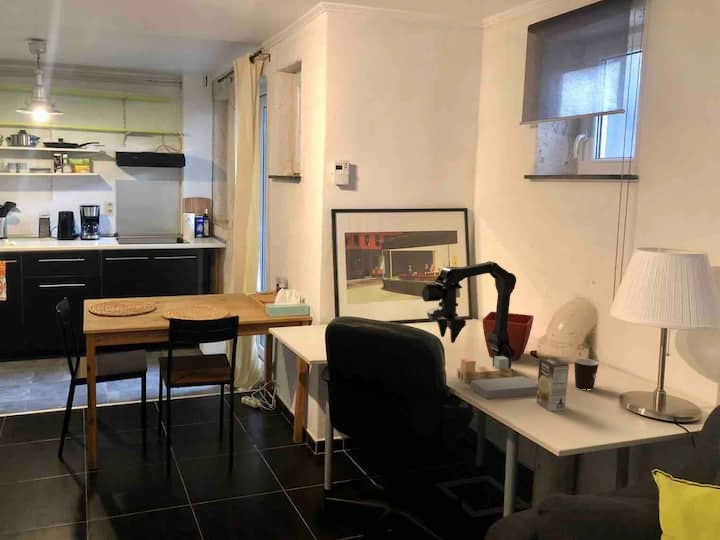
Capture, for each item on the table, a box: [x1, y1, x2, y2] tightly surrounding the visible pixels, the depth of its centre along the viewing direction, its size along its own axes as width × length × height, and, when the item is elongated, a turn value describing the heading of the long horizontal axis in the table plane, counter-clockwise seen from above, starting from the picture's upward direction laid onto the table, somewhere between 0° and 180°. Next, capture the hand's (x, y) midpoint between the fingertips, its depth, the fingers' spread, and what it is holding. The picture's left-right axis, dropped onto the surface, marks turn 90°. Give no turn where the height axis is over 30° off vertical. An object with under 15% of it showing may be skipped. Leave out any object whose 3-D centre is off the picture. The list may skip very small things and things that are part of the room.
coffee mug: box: [573, 358, 599, 391], centre depth 255 cm, size 12×9×10 cm
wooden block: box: [456, 365, 513, 383], centre depth 263 cm, size 20×6×4 cm, turn 108°
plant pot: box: [481, 311, 534, 361], centre depth 296 cm, size 19×19×17 cm
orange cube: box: [460, 357, 477, 372], centre depth 260 cm, size 4×4×4 cm
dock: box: [470, 375, 538, 400], centre depth 248 cm, size 22×12×3 cm, turn 108°
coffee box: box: [535, 356, 570, 412], centre depth 232 cm, size 9×6×16 cm
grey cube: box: [493, 356, 509, 370], centre depth 265 cm, size 4×4×4 cm
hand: (447, 339), depth 264 cm, fingers open, 9 cm apart
